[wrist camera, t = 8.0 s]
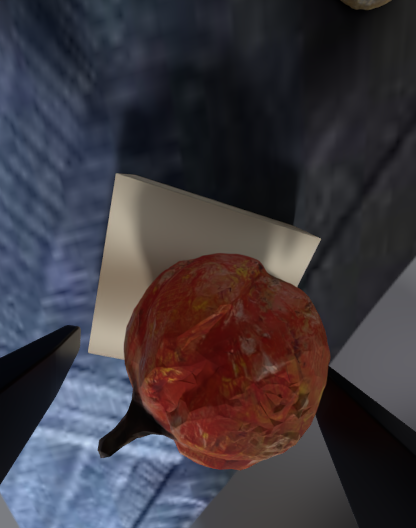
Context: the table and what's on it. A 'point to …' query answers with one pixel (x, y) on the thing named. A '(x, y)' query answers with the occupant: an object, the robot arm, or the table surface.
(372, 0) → the sprinkles bottle
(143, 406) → the red oval lump
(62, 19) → the table surface
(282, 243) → the pale wooden block
